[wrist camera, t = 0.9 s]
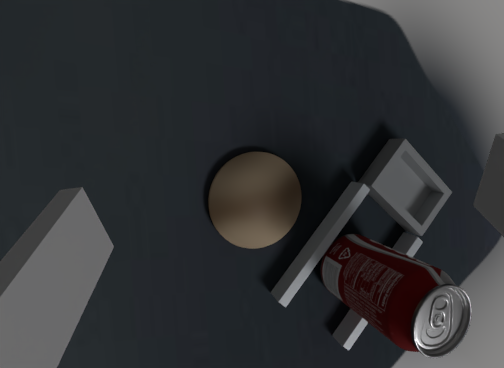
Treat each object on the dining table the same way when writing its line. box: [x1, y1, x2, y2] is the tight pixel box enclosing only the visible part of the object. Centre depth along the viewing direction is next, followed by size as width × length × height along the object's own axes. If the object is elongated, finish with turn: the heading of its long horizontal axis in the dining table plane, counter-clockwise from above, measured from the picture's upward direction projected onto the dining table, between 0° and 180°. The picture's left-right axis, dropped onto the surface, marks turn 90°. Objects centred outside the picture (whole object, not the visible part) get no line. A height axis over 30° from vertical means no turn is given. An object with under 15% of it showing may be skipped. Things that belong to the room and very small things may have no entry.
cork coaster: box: [208, 152, 301, 249], centre depth 30 cm, size 9×9×1 cm
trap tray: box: [358, 139, 452, 236], centre depth 34 cm, size 6×9×2 cm, turn 49°
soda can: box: [320, 234, 472, 358], centre depth 28 cm, size 7×7×12 cm
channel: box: [270, 181, 423, 350], centre depth 33 cm, size 14×10×2 cm
